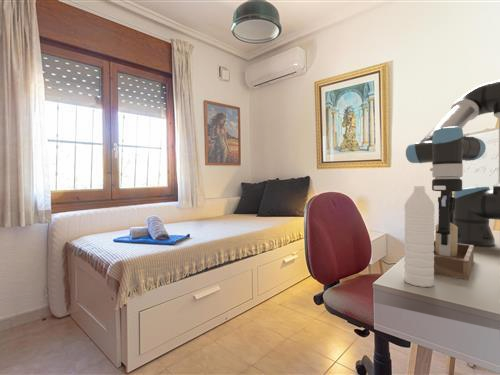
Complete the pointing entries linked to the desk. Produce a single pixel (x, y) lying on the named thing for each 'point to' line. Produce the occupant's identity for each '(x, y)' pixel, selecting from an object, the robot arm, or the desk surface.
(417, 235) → the water bottle
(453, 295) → the desk surface
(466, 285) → the desk surface
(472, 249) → the walnut box
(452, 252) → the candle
